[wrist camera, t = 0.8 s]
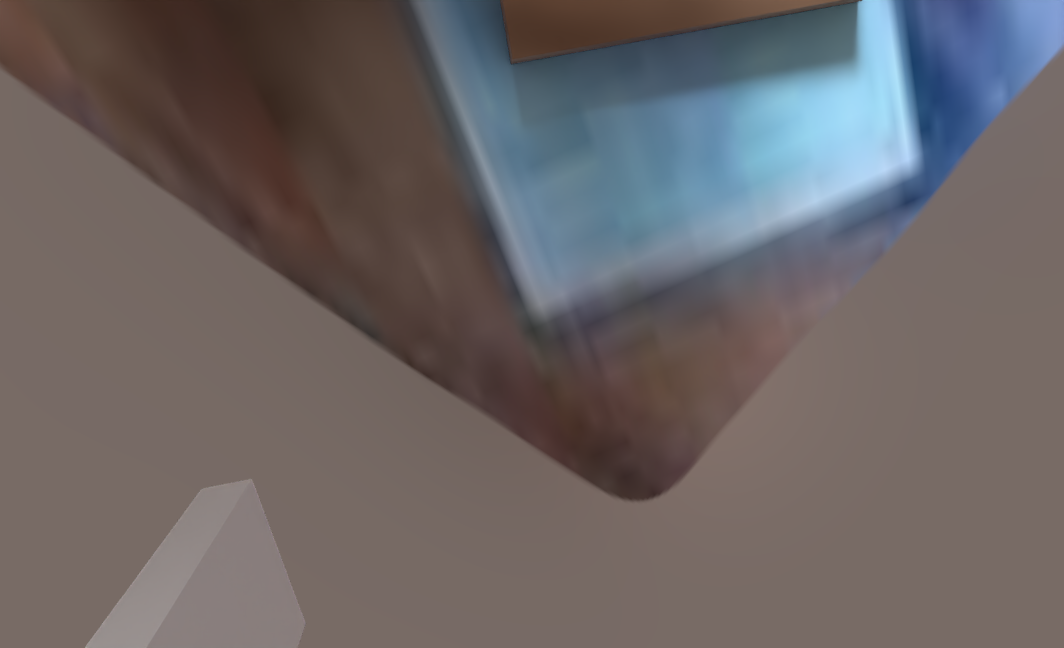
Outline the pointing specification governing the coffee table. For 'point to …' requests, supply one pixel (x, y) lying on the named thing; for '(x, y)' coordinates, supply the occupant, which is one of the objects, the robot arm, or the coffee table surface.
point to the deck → (626, 21)
